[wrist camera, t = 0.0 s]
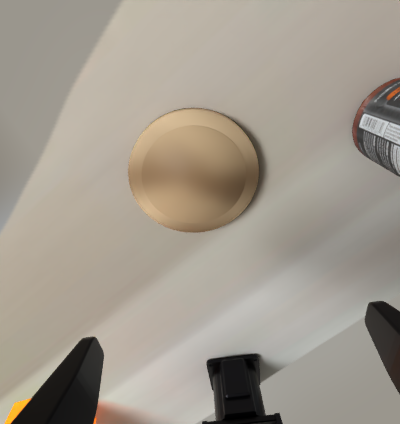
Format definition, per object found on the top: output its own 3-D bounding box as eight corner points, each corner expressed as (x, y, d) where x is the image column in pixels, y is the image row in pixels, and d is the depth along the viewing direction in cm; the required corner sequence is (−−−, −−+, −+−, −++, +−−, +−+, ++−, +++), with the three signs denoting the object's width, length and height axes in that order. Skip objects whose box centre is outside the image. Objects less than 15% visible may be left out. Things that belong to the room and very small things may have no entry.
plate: (258, 217, 24) (261, 224, 23) (147, 233, 25) (145, 240, 24) (253, 97, 19) (256, 99, 18) (114, 119, 20) (110, 122, 19)
